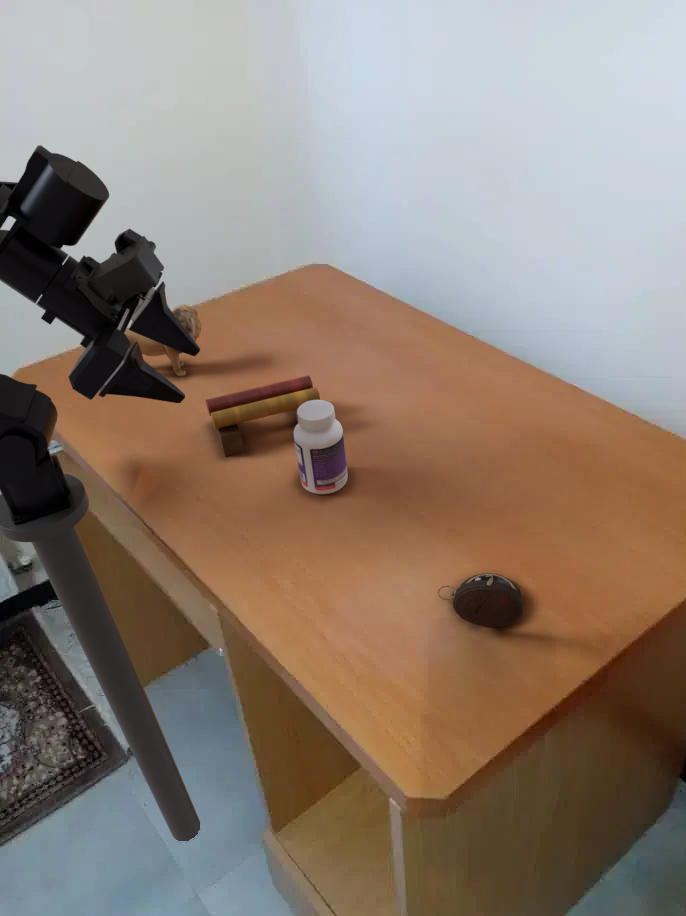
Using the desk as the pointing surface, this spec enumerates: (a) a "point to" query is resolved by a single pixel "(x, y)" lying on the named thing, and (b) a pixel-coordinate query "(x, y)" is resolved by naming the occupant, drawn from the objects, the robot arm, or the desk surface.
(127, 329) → the lion figurine
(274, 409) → the rod rack
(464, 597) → the brown coin purse
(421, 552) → the desk surface
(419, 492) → the desk surface
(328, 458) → the pill bottle
